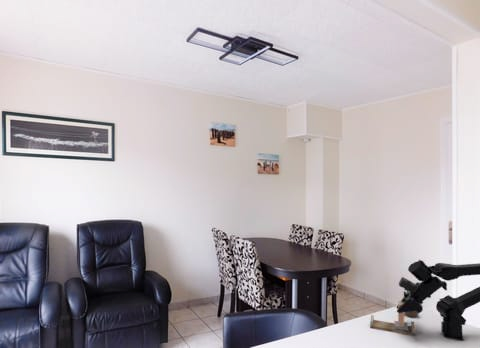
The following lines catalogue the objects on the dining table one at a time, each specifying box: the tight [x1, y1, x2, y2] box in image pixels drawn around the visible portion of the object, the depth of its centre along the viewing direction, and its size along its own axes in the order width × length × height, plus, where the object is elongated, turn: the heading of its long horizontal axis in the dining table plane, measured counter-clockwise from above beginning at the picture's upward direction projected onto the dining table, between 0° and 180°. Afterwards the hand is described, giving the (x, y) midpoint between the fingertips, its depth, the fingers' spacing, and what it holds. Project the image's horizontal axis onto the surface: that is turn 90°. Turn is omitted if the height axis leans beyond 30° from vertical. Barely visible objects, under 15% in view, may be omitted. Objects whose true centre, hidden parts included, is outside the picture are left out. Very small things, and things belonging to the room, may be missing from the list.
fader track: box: [370, 314, 416, 337], centre depth 139 cm, size 17×7×3 cm, turn 66°
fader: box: [393, 300, 409, 331], centre depth 138 cm, size 5×6×10 cm
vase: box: [404, 311, 420, 318], centre depth 153 cm, size 7×7×9 cm
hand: (397, 310), depth 139 cm, fingers closed on fader, 4 cm apart
